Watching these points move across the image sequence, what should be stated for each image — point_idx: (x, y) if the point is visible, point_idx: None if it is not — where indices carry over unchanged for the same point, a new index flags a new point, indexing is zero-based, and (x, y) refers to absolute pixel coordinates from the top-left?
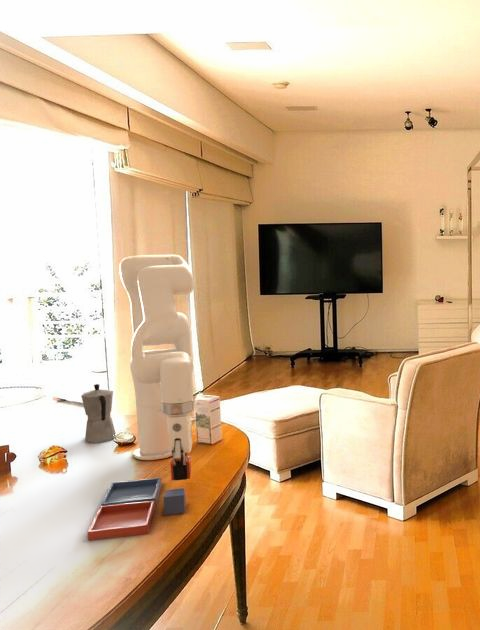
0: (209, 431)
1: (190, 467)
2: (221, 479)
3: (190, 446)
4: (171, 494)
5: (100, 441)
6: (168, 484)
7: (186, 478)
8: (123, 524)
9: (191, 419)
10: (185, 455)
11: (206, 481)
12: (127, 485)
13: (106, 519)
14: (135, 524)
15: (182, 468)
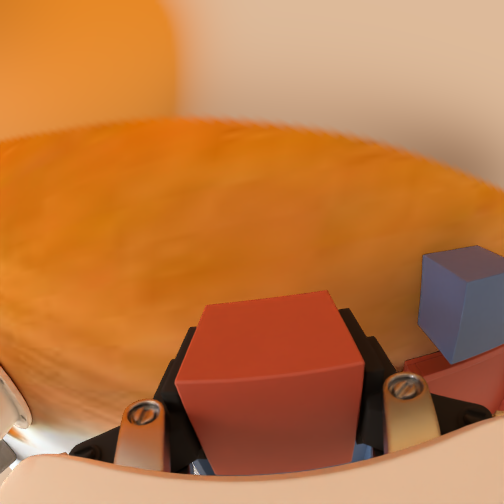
0: None
1: (251, 325)
2: (118, 146)
3: (494, 486)
4: (501, 322)
5: (8, 447)
6: (167, 366)
7: (349, 311)
8: (481, 389)
9: None
10: (168, 415)
11: (135, 214)
12: (206, 462)
13: None
14: (496, 363)
15: (394, 373)
